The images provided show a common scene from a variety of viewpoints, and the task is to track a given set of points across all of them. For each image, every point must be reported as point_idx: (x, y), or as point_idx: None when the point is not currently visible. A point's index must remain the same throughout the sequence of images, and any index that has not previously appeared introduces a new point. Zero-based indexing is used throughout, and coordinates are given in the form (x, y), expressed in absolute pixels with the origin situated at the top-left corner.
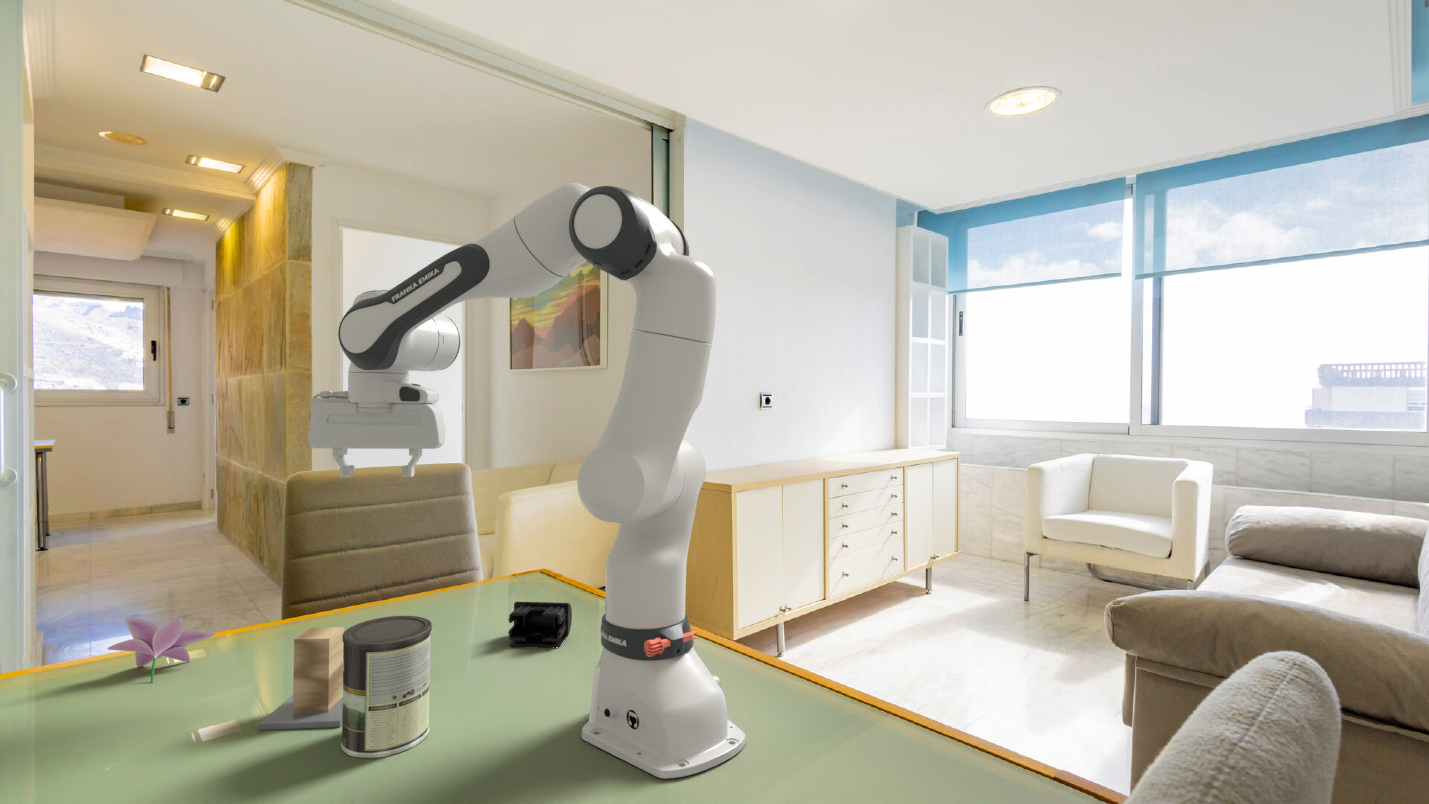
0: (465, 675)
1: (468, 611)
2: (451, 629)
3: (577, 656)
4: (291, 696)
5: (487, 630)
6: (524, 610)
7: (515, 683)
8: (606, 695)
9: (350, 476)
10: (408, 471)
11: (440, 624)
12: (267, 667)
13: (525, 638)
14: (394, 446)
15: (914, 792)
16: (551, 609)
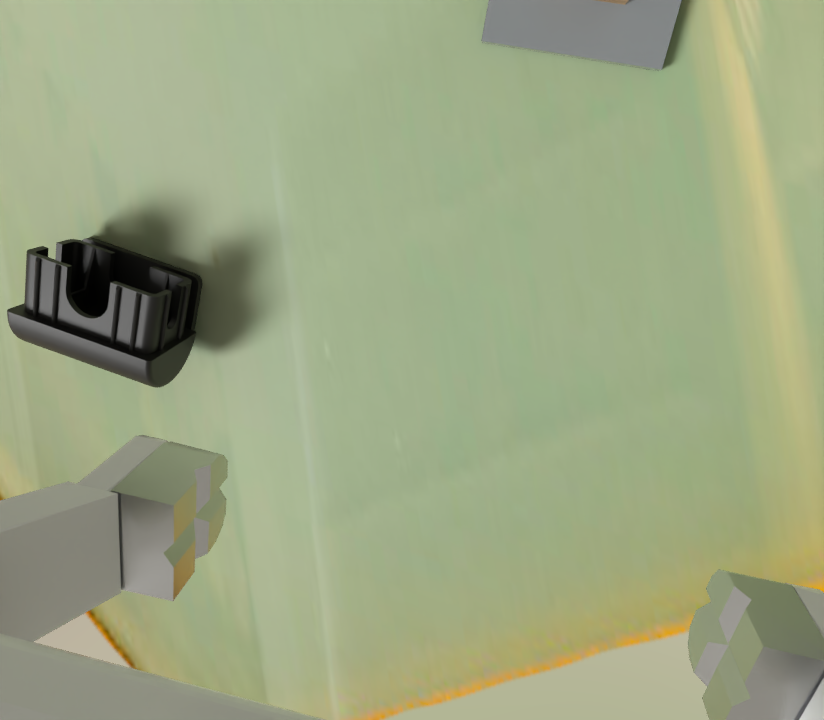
0: (274, 111)
1: (334, 544)
2: (355, 433)
3: (37, 170)
4: (672, 28)
5: (269, 402)
6: (117, 301)
7: (150, 26)
8: None
9: (713, 576)
10: (137, 458)
11: (386, 475)
12: (766, 293)
13: (152, 267)
14: (65, 669)
15: None
16: (51, 298)
